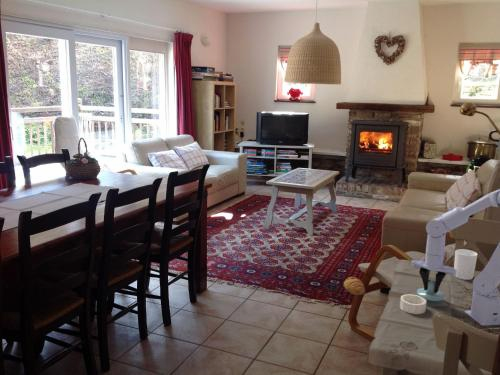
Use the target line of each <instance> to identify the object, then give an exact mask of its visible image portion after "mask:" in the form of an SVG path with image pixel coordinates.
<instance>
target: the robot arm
mask: <svg viewBox="0 0 500 375" xmlns="http://www.w3.org/2000/svg"><path fill="white" fill-rule="evenodd" d="M489 207H495V208H499V207H500V188H499V189H496V190H494V191H492V192H490V193H488V194H486V195H484V196H482V197H480V198H479V199H477V200H474V201H473V202H472V203H470V204H468V205H467V206H465V207H462V206H456V207H455V206H452V207H449V210H448V211H446V212H445V213H443V214H438V215H437V216H436V218H434V219H431V220H429V221H428V222H427V223H426V225H425V231H426V233H427V236H426V237H427V238H426V245H425V246H426V247H425V256H424V257H425V259H424V260H416V259H415V260H414V259H412V261H411V262H410V267H412V268H419V271H418V273H419V276H420V277H421V281H422V286H423V288H424V290H427V283H428V280H430V272H431V271H432V272H436V274H435V281H436V284H435V291H434V293H437V292H438V290H439V291H440V286H441V284H442V282H443V280H444V279H445V277H446V275H449V276H451V277H454V278H456V277H455V276H456V274H457V269H454V267H453V268H452V267H450V266H447V265H444V259H445V258H444V257H445V249H446V247H445V246H446V235H447V233H448V232H449V231H452V230H454V229H457V228H459V227H460V226H462V225H464V224H466V223H468V222H469V217H470V216H472V215H474V214H477V213H478V212H480V211H483V210H485V209H487V208H489ZM473 278H474V279H473V280H472V287H473V292H472V298H471V299H472V300H471V306H470V307H471V308H470V309H469V310H464V313H465V314H467V315H468V316H469V317H470V318H471V319H473V320H474V321H475V322H476V323H478V324H479V325H481V326H498V325H500V291H499V289H498V286H500V241H499V243H498V244H497V247H496V248H495V249H494V250H493V253H492V255H491V256H490V259H489V260H488V263H487V264H486V265H485V266H484V268H483V269H482V271H480V273H479V274H478V275H477V276H475V277H473Z"/></svg>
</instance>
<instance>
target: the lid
mask: <svg viewBox="0 0 500 375" xmlns="http://www.w3.org/2000/svg"><path fill="white" fill-rule="evenodd" d="M435 284H436V279H432V278H431V279H430V278H429V280H428V283H427V290H424V287H420V288H418V289H417V290H416V295H418V296H420V297H423V298H424V299H426V300H430V301H441V300H443V301H444V300H445V299H446V298H445V297H446V294H445V293H444V291H441V290H440V289H439V290H438V292H437V293H434V291H435Z"/></svg>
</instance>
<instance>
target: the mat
mask: <svg viewBox="0 0 500 375" xmlns="http://www.w3.org/2000/svg"><path fill="white" fill-rule="evenodd" d="M425 300H426V299H425ZM447 306H448V307H449V306H450V305H449V304H448V303H447V302H446V301H444V300H441V301H430V300H426V308H430V307H432V308H433V307H447Z"/></svg>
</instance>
